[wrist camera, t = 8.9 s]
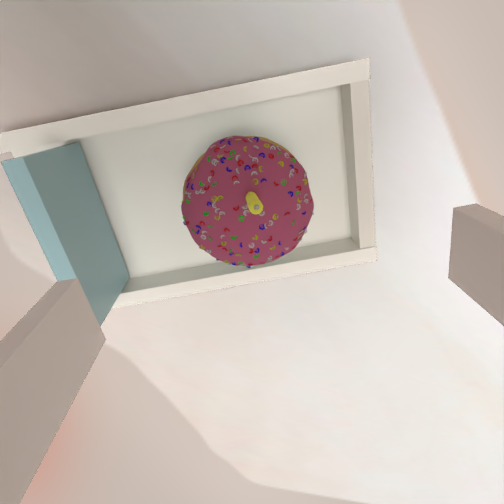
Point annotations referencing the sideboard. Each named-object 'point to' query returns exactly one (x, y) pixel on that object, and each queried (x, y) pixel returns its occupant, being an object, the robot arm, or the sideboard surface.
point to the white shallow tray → (196, 144)
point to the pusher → (70, 222)
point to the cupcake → (247, 201)
